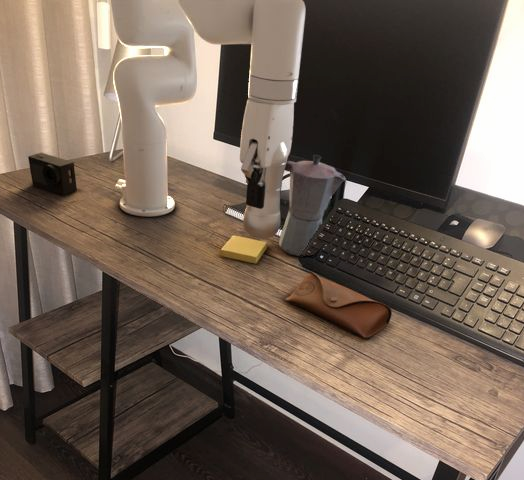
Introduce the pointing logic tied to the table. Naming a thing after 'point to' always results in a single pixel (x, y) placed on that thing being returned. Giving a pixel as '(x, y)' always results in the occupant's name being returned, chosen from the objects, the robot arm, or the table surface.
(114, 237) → the table surface
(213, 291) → the table surface
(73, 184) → the digital camera
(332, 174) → the moka pot
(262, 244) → the sticky note pad
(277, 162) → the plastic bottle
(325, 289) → the sunglasses case
